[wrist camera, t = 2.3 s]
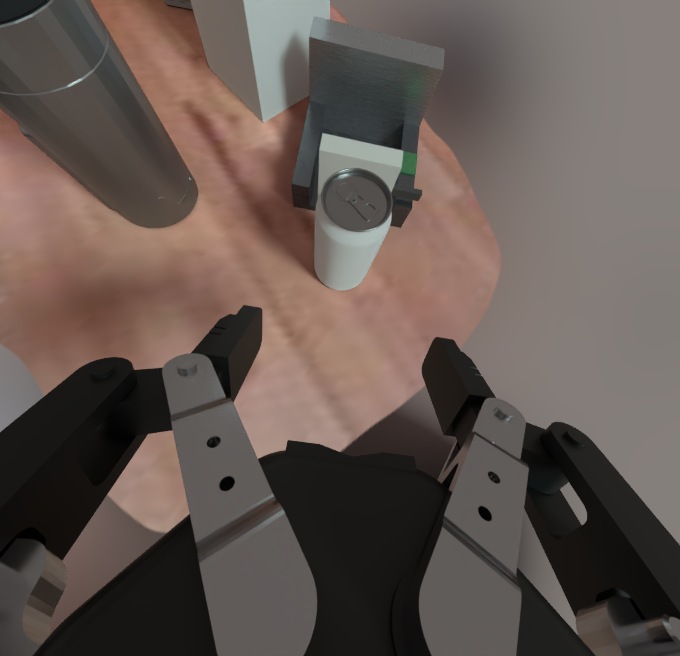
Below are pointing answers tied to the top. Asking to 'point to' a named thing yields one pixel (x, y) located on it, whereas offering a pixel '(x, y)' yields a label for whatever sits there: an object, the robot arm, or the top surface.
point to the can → (350, 226)
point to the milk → (260, 48)
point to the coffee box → (179, 3)
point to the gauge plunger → (362, 162)
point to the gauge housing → (365, 100)
